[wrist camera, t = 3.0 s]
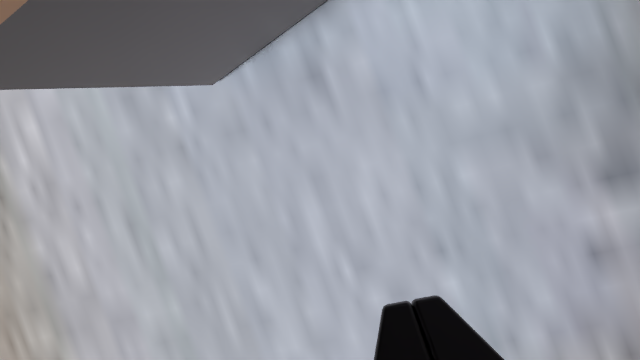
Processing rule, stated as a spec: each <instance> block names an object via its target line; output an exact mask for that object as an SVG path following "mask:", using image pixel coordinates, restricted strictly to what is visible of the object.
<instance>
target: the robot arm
mask: <svg viewBox="0 0 640 360" xmlns="http://www.w3.org/2000/svg"><path fill="white" fill-rule="evenodd" d="M374 360H504V359H503V358H502V357H501V356H500V355H499V354H498V353H497V352H496V351H495V350H494V349H493V348H492V347H491V346H490V345H489V344H488V343H487V342H486V341H485V340H484V339H483V338H482V337H481V336H480V335H479V334H478V333H477V332H476V331H475V330H474V329H473V328H472V327H471V326H469V325H468V324H467V323H466V322H465V321H464V320H463V319H462V318H461V317H460V316H459V315H458V314H457V313H456V312H455V311H454V310H453V309H452V308H451V307H450V306H449V305H448V304H447V303H446V302H445V301H444V300H443V299H442V298H441V297H439V296H429V297H424V298H419V299H415V300H413V301H412V303H410V302H408V301H403V302H398V303H392V304H387V305H385V306H384V307H383V309H382V315H381V321H380V327H379V333H378V339H377V345H376V351H375V357H374Z"/></svg>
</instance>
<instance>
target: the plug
mask: <svg viewBox="0 0 640 360" xmlns="http://www.w3.org/2000/svg"><path fill="white" fill-rule="evenodd" d="M325 1H327V0H0V90H9V89H55V88H101V87H147V86H193V85H213V84H215V83H216V82H217V81H219V80H220V79H221V78H223V77H224V76H225V75H227V74H228V73H229V72H231V71H232V70H234V69H235V68H236V67H238V66H239V65H240V64H242V63H243V62H244V61H246V60H247V59H248V58H250V57H251V56H252V55H254V54H255V53H256V52H258V51H259V50H261V49H262V48H263V47H265V46H266V45H267V44H269V43H270V42H271V41H273V40H274V39H275V38H277V37H278V36H279V35H281V34H282V33H283V32H285V31H286V30H288V29H289V28H290V27H292V26H293V25H294V24H296V23H297V22H298V21H300V20H301V19H302V18H304V17H305V16H306V15H308V14H309V13H310V12H312V11H313V10H315V9H316V8H317V7H319V6H320V5H321V4H323V3H324V2H325Z"/></svg>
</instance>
